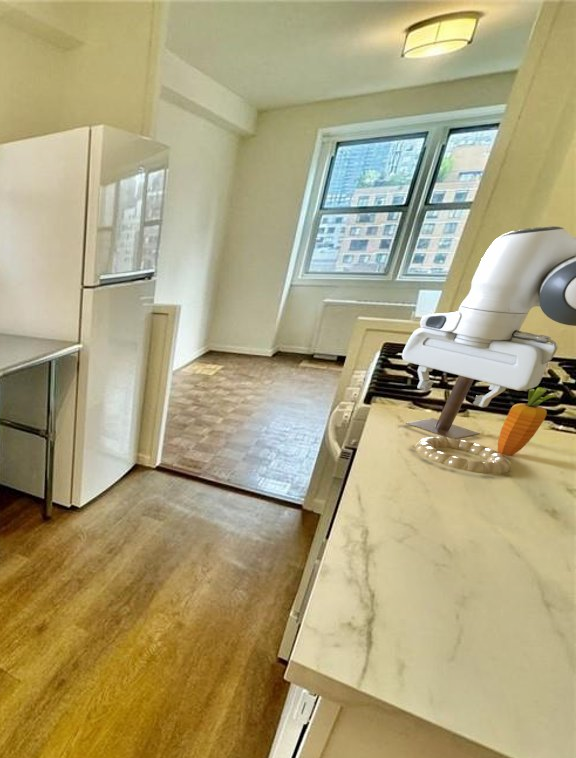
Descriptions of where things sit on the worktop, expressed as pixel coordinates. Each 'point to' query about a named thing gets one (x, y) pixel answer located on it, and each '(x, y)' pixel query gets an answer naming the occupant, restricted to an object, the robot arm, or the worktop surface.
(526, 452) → the worktop surface
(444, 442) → the bracelet
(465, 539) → the worktop surface
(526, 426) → the carrot
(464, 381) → the brown peg stand
